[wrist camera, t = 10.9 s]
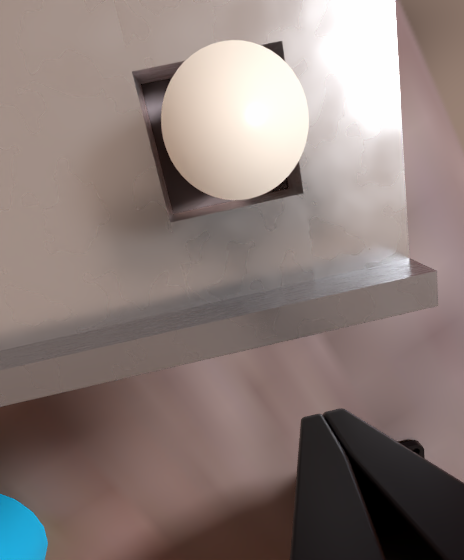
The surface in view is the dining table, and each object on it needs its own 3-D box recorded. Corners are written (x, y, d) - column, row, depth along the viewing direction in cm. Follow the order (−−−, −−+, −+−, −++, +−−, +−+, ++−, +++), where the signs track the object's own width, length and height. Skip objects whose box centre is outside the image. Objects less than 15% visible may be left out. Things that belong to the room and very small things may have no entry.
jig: (384, 273, 20) (438, 305, 15) (-4, 362, 19) (-60, 420, 15) (354, -118, 15) (420, -230, 10) (-175, -15, 14) (-334, -91, 10)
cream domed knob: (270, 174, 18) (317, 183, 11) (185, 192, 18) (181, 213, 11) (254, 79, 16) (297, 26, 10) (162, 98, 16) (143, 57, 10)
